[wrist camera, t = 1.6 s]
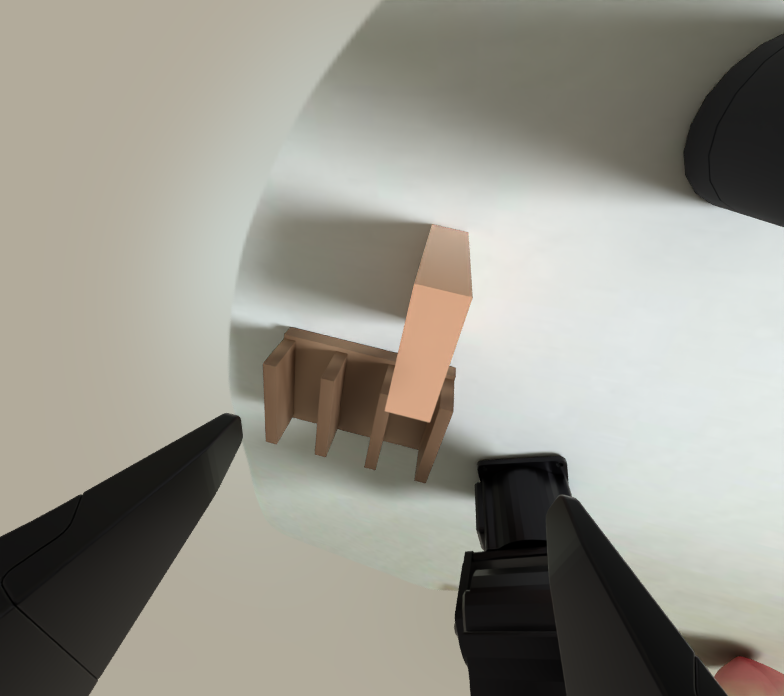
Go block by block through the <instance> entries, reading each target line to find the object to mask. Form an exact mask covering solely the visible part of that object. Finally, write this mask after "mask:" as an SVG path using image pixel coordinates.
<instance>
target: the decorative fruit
mask: <svg viewBox="0 0 784 696" xmlns="http://www.w3.org/2000/svg"><path fill="white" fill-rule="evenodd" d="M714 678H715V679H716V681H717V682H718V683H719V684H720V686H721V687H722V688H723V690H724V691H725V692H726V693H727V695H728V696H784V674H782V673H780V672H778V671H776V670H774V669H772V668H770V667H768V666H766V665H764V664H761V663H759V662H757V661H754V660H752V659H749V658H746V657H742V656H739V657H736V658H734V659H733V660H731V661H730V662H728V663H727V664H726V665H724V666H723V667H722V668H720V669H719V670H718V672H717V673H716V675H715V677H714Z"/></svg>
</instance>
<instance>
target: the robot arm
mask: <svg viewBox="0 0 784 696" xmlns="http://www.w3.org/2000/svg"><path fill="white" fill-rule="evenodd" d="M242 438H243V432H242V424H241V418H240V417H239V416H238V415H234V414H229V413H225V414H222V415H220V416H218V417H217V418H215V419H213V420H211V421H210V422H208V423H206V424H204V425H202V426H201V427H199V428H197V429H195V430H194V431H192V432H190V433H188V434H187V435H185V436H183V437H182V438H180V439H178V440H176V441H174V442H172V443H171V444H169V445H167V446H165V447H164V448H162V449H160V450H158V451H156V452H155V453H153V454H151V455H149V456H148V457H146V458H144V459H142V460H140V461H139V462H137V463H135V464H133V465H131V466H130V467H128V468H126V469H124V470H123V471H121V472H119V473H117V474H115V475H114V476H112V477H110V478H108V479H107V480H105V481H103V482H101V483H100V484H98V485H96V486H94V487H92V488H91V489H89V490H87V491H85V492H84V493H83V495H78V496H76V497H75V498H73V499H71V500H69V501H67V502H66V503H64V504H62V505H60V506H58V507H57V508H55V509H53V510H51V511H49V512H47V513H46V514H44V515H42V516H40V517H39V518H36V519H34V520H33V521H31V522H29V523H27V524H25V525H23V526H21V527H19V528H17V529H15V530H13V531H11V532H9V533H7V534H5V535H3V536H1V537H0V696H89V694H90V693H91V691H92V690H93V688H94V686H95V685H96V683H97V681H98V679H99V678H100V676H101V675H102V673H103V672H104V670H105V668H106V667H107V665H108V664H109V662H110V660H111V659H112V657H113V656H114V654H115V653H116V651H117V649H118V648H119V646H120V645H121V643H122V642H123V640H124V639H125V637H126V635H127V634H128V632H129V630H130V629H131V627H132V626H133V624H134V622H135V621H136V620H137V618H138V616H139V615H140V613H141V612H142V610H143V608H144V607H145V605H146V604H147V602H148V600H149V599H150V597H151V596H152V594H153V593H154V591H155V589H156V588H157V586H158V585H159V583H160V582H161V580H162V578H163V577H164V575H165V573H166V572H167V570H168V569H169V567H170V565H171V564H172V563H173V561H174V559H175V558H176V556H177V555H178V553H179V551H180V550H181V548H182V547H183V545H184V543H185V542H186V540H187V539H188V537H189V535H190V534H191V533H192V531H193V529H194V528H195V526H196V525H197V523H198V521H199V520H200V518H201V517H202V515H203V513H204V512H205V510H206V509H207V507H208V506H209V504H210V502H211V501H212V499H213V498H214V496H215V494H216V492H217V491H218V488H219V487H220V485H221V483H222V481H223V479H224V477H225V475H226V473H227V471H228V469H229V467H230V464H231V462H232V460H233V458H234V457H235V454H236V452H237V450H238V448H239V446H240V444H241V442H242ZM477 470H478V474H479V478H480V482H477V483H476V484H475V505H476V530H477V534H478V537H479V541H480V544H481V548H482V549H483V550H484V551H483V552H473V551H467V552H465V556H464V563H463V565H462V571H461V578H460V584H459V591H458V598H457V604H456V611H455V625H454V629H455V633H456V635H457V636H458V640H459V645H460V649H461V653H462V656H463V659H464V661H465V663H466V665H467V667H468V671H469V680H470V692H471V696H728V695H727V693H726V692H725V691H724V690H723V688H722V687H721V686H720V684H719V683H718V682H717V681H716V679H715V678H714V677H713V675H712V674H711V673H710V672H709V670H708V669H707V668H706V666H705V665H704V664H703V662H702V661H701V660H700V658H699V657H697V656H695V652H694V651H693V650H692V648H691V647H690V646H689V644H688V643H687V642H686V640H685V639H684V638H683V636H682V635H681V634H680V633H679V631H678V630H677V629H676V627H675V626H674V625H673V623H672V622H671V621H670V619H669V618H668V617H667V616H666V614H665V613H664V612H663V610H662V609H661V608H660V606H659V605H658V604H657V602H656V601H655V600H654V599H653V597H652V596H651V595H650V593H649V592H648V591H647V589H646V588H645V587H644V585H643V584H642V583H641V582H640V580H639V579H638V578H637V576H636V575H635V574H634V572H633V571H632V570H631V568H630V567H629V566H628V565H627V563H626V562H625V561H624V559H623V558H622V557H621V555H620V554H619V553H618V551H617V550H616V549H615V548H614V546H613V545H612V544H611V542H610V541H609V540H608V538H607V537H606V536H605V534H604V533H603V532H602V531H601V529H600V528H599V527H598V525H597V524H596V523H595V521H594V520H593V519H592V517H591V516H590V515H589V514H588V512H587V511H586V510H585V508H584V507H583V506H582V504H581V503H580V502H579V501H578V500H577V499H576V498H574V497H572V495H571V491H570V488H569V485H568V469H567V462H566V459H565V458H564V457H562V456H552V457H535V458H519V459H502V460H486V461H480V462H478V463H477Z"/></svg>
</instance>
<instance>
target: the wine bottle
mask: <svg viewBox="0 0 784 696" xmlns="http://www.w3.org/2000/svg"><path fill="white" fill-rule="evenodd" d="M684 161H685V173H686V177H687V179H688V180H689V182H690V184H691V186H692V188H693V189H694V191H695V193H696V194H698V195H699V196H700V197H702V198H703V199H705V200H706V201H708V202H709V203H711V204H712V205H715V206H718V207H721V208H724V209H728V210H731V211H734V212H737V213H740V214H744V215H747V216H750V217H753V218H756V219H759V220H763V221H766V222H769V223H772V224H775V225H779V226H782V227H784V34H782V35H780V36H778V37H776V38H774V39H772V40H770V41H768V42H765V43H763V44H762V45H760V46H759V47H758V48H756V49H755V50H754V51H753V52H751V53H750V54H749V55H747V56H746V57H745V58H744V59H742V60H741V61H740V62H738V63H737V64H736V65H735V66H733V67H732V68H731V69H730V70H729V71H728V72H727V73H726V75H725V76H724V77H723V78H722V79H721V80H720V81H719V83H718V84H717V85H716V86H715V87H714V88H713V90H712V91H711V92H710V93H709V94H708V95H707V97H706V98H705V100H704V102H703V104H702V106H701V107H700V109H699V111H698V113H697V115H696V117H695V118H694V120H693V122H692V124H691V126H690V130H689V134H688V138H687V142H686V146H685V150H684Z"/></svg>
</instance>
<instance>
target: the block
mask: <svg viewBox="0 0 784 696" xmlns="http://www.w3.org/2000/svg"><path fill="white" fill-rule="evenodd" d="M472 298H473V296H472V280H471V265H470V249H469V234H468V232H464V231H460V230H455V229H451V228H447V227H442V226H438V225H434V224H432V226H431V229H430V233H429V236H428V239H427V242H426V246H425V249H424V252H423V256H422V259H421V262H420V266H419V269H418V272H417V276H416V279H415V282H414V286H413V290H412V295H411V299H410V303H409V308H408V312H407V316H406V321H405V325H404V329H403V334H402V338H401V342H400V347H399V351H398V355H397V360H396V364H395V368H394V373H393V377H392V381H391V386H390V390H389V394H388V399H387V403H386V407H385V411H386V412H390V413H394V414H398V415H402V416H406V417H410V418H414V419H418V420H421V421H425V422H429V423H430V421H431V418H432V415H433V412H434V409H435V406H436V403H437V400H438V397H439V394H440V391H441V388H442V386H443V383H444V380H445V377H446V374H447V371H448V368H449V365H450V362H451V359H452V356H453V353H454V350H455V348H456V345H457V342H458V339H459V336H460V333H461V330H462V327H463V324H464V321H465V318H466V315H467V312H468V309H469V307H470V304H471V301H472Z"/></svg>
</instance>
